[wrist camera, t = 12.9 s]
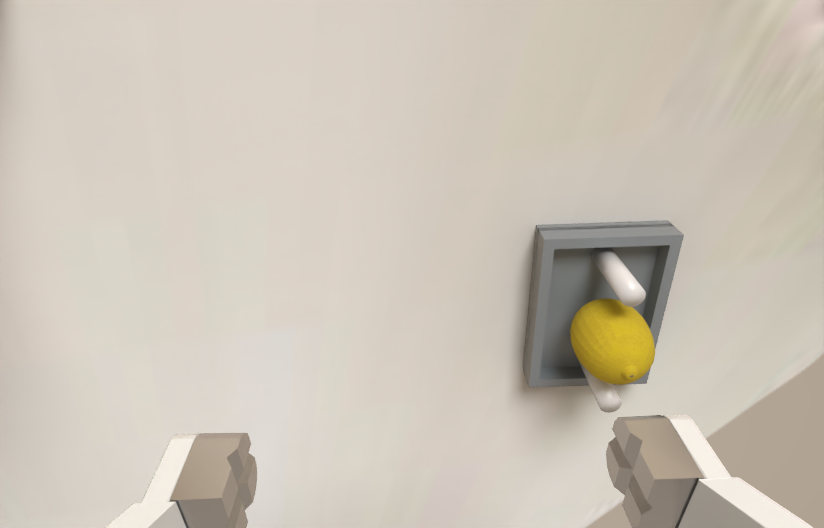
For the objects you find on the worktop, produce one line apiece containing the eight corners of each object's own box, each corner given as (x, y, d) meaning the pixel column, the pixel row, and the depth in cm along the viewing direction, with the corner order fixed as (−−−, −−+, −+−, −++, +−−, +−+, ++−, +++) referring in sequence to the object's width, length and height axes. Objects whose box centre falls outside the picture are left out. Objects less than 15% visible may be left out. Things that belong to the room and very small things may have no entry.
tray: (536, 225, 38) (561, 270, 32) (667, 220, 38) (717, 265, 32) (522, 367, 45) (541, 427, 39) (634, 364, 45) (670, 423, 39)
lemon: (553, 335, 42) (583, 405, 35) (565, 278, 39) (600, 342, 32) (618, 336, 42) (660, 407, 35) (635, 280, 40) (684, 344, 33)
